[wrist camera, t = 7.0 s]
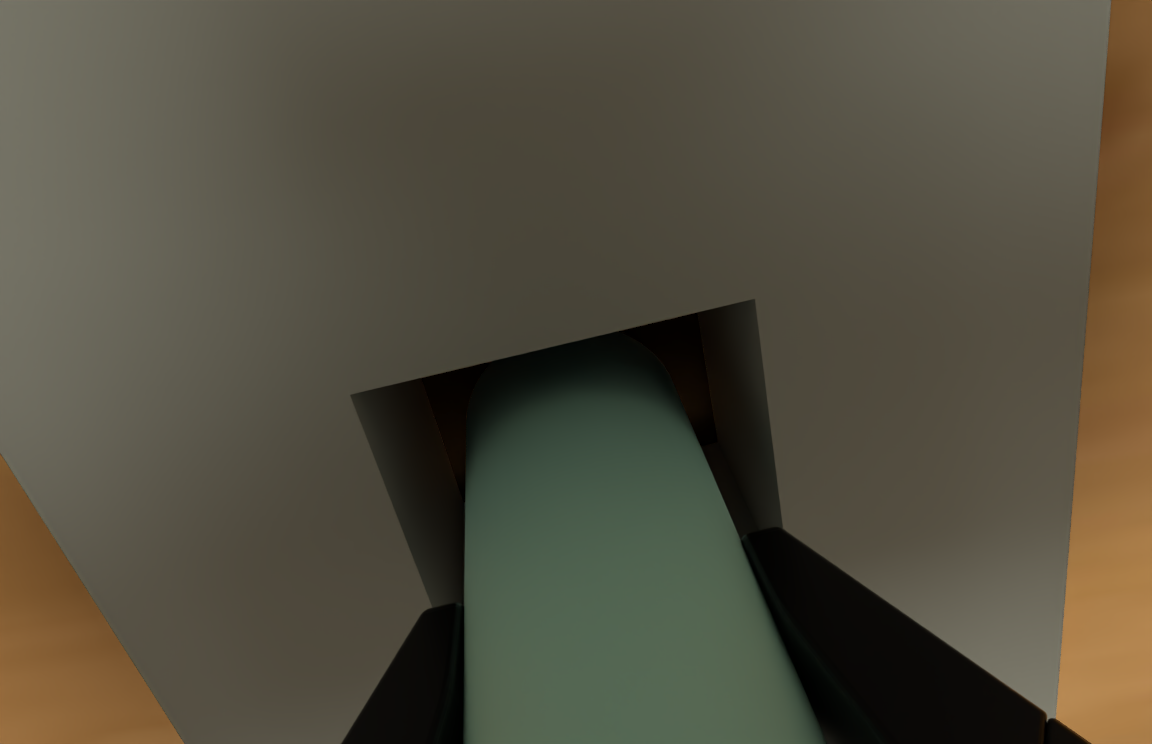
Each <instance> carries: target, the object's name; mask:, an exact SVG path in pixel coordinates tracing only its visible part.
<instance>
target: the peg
mask: <svg viewBox="0 0 1152 744" xmlns="http://www.w3.org/2000/svg"><path fill="white" fill-rule="evenodd" d="M463 744H827V741H826V739H825V737H824V734H823V732H822V730H821V727H820V725H819V723H818V720H817V718H816V716H815V713H814V711H813V709H812V706H811V704H810V702H809V699H808V697H807V695H806V692H805V690H804V688H803V685H802V683H801V681H800V678H799V676H798V673H797V671H796V669H795V667H794V664H793V662H792V660H791V657H790V655H789V653H788V650H787V648H786V646H785V643H784V641H783V639H782V636H781V634H780V632H779V629H778V627H777V625H776V622H775V620H774V617H773V615H772V613H771V610H770V608H769V606H768V603H767V601H766V599H765V596H764V594H763V592H762V589H761V587H760V585H759V582H758V580H757V578H756V575H755V573H754V571H753V568H752V566H751V564H750V561H749V559H748V557H747V554H746V552H745V550H744V547H743V545H742V543H741V540H740V538H739V535H738V533H737V531H736V528H735V526H734V524H733V521H732V519H731V517H730V514H729V512H728V510H727V507H726V505H725V503H724V500H723V498H722V496H721V493H720V491H719V489H718V486H717V484H716V481H715V479H714V477H713V474H712V472H711V470H710V467H709V465H708V463H707V460H706V458H705V456H704V453H703V451H702V449H701V446H700V444H699V442H698V439H697V437H696V435H695V432H694V430H693V428H692V425H691V423H690V421H689V418H688V416H687V414H686V411H685V409H684V407H683V404H682V402H681V400H680V397H679V395H678V393H677V390H676V388H675V386H674V383H673V381H672V379H671V376H670V374H669V373H668V371H667V369H666V368H665V366H664V365H663V363H662V362H661V361H660V360H659V359H658V358H657V356H656V355H655V354H654V353H652V352H651V351H650V350H649V349H648V348H647V347H646V346H644V345H643V344H641V343H640V342H638V341H636V340H635V339H633V338H631V337H629V336H627V335H625V334H623V333H620V332H612V333H608V334H604V335H600V336H595V337H591V338H587V339H583V340H579V341H574V342H570V343H566V344H562V345H558V346H553V347H549V348H545V349H541V350H536V351H532V352H528V353H524V354H520V355H515V356H511V357H507V358H503V359H499V360H494V361H492V362H491V363H490V364H489V365H488V367H487V368H486V369H485V371H484V372H483V373H482V374H481V376H480V378H479V379H478V381H477V383H476V385H475V387H474V389H473V392H472V394H471V397H470V400H469V404H468V408H467V417H466V475H465V575H464V676H463Z"/></svg>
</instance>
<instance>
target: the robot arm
mask: <svg viewBox="0 0 1152 744" xmlns="http://www.w3.org/2000/svg"><path fill="white" fill-rule="evenodd" d="M741 543H742V545H743V547H744V550H745V552H746V554H747V557H748V559H749V561H750V564H751V566H752V568H753V571H754V573H755V575H756V578H757V580H758V582H759V585H760V587H761V589H762V592H763V594H764V596H765V599H766V601H767V603H768V606H769V608H770V610H771V613H772V615H773V617H774V620H775V622H776V625H777V627H778V629H779V632H780V634H781V636H782V639H783V641H784V643H785V646H786V648H787V650H788V653H789V655H790V657H791V660H792V662H793V664H794V667H795V669H796V671H797V673H798V676H799V678H800V681H801V683H802V685H803V688H804V690H805V692H806V695H807V697H808V699H809V702H810V704H811V706H812V709H813V711H814V713H815V716H816V718H817V720H818V723H819V725H820V727H821V730H822V732H823V734H824V737H825V739H826V741H827V744H1091V743H1090V742H1088V741H1087V740H1085V739H1084V738H1083V737H1081V736H1080V735H1078V734H1077V733H1075V732H1074V731H1072V730H1071V729H1070V728H1068V727H1067V726H1065V725H1064V724H1062V723H1061V722H1060V721H1058V720H1057V719H1055V718H1050V719H1048V721H1047V714H1046V712H1045V711H1043V710H1042V709H1040V708H1039V707H1038V706H1036V705H1035V704H1033V703H1032V702H1030V701H1029V700H1028V699H1026V698H1025V697H1023V696H1022V695H1020V694H1019V693H1018V692H1016V691H1015V690H1013V689H1012V688H1010V687H1009V686H1008V685H1006V684H1005V683H1003V682H1002V681H1000V680H999V679H997V678H996V677H995V676H993V675H992V674H990V673H989V672H987V671H986V670H985V669H983V668H982V667H980V666H979V665H977V664H976V663H975V662H973V661H972V660H970V659H969V658H967V657H966V656H965V655H963V654H962V653H960V652H959V651H957V650H956V649H955V648H953V647H952V646H950V645H949V644H947V643H946V642H945V641H943V640H942V639H940V638H939V637H937V636H936V635H934V634H933V633H932V632H930V631H929V630H927V629H926V628H924V627H923V626H922V625H920V624H919V623H917V622H916V621H914V620H913V619H912V618H910V617H909V616H907V615H906V614H904V613H903V612H902V611H900V610H899V609H897V608H896V607H894V606H893V605H892V604H890V603H889V602H887V601H886V600H884V599H883V598H881V597H880V596H879V595H877V594H876V593H874V592H873V591H871V590H870V589H869V588H867V587H866V586H864V585H863V584H861V583H860V582H859V581H857V580H856V579H854V578H853V577H851V576H850V575H849V574H847V573H846V572H844V571H843V570H841V569H840V568H839V567H837V566H836V565H834V564H833V563H831V562H830V561H828V560H827V559H826V558H824V557H823V556H821V555H820V554H818V553H817V552H816V551H814V550H813V549H811V548H810V547H808V546H807V545H806V544H804V543H803V542H801V541H800V540H798V539H797V538H796V537H794V536H793V535H791V534H790V533H788V532H787V531H786V530H784V529H782V528H780V527H771V528H767V529H762V530H758V531H754V532H750V533H746V534H745V535H744V536H743V537H742V540H741ZM463 676H464V606H463V605H462V604H461V603H458V602H454V603H450V604H445V605H441V606H437V607H433V608H429V609H427V610H425V611H424V612H422V613H421V615H420V616H419V618H418V619H417V621H416V623H415V624H414V626H413V627H412V629H411V631H410V632H409V634H408V636H407V637H406V639H405V640H404V642H403V644H402V645H401V647H400V649H399V650H398V652H397V653H396V655H395V657H394V658H393V660H392V662H391V663H390V665H389V666H388V668H387V670H386V671H385V673H384V674H383V676H382V678H381V679H380V681H379V683H378V684H377V686H376V687H375V689H374V691H373V692H372V694H371V696H370V697H369V699H368V700H367V702H366V704H365V705H364V707H363V709H362V710H361V712H360V713H359V715H358V717H357V718H356V720H355V722H354V723H353V725H352V726H351V728H350V730H349V731H348V733H347V735H346V736H345V738H344V739H343V741H342V743H341V744H463Z"/></svg>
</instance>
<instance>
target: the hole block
mask: <svg viewBox="0 0 1152 744" xmlns="http://www.w3.org/2000/svg"><path fill="white" fill-rule="evenodd" d="M1110 10H1111V0H0V453H1V455H2V457H3V458H4V460H5V461H6V463H7V465H8V466H9V468H10V469H11V471H12V472H13V474H14V476H15V477H16V479H17V480H18V482H19V483H20V485H21V487H22V488H23V490H24V491H25V493H26V494H27V496H28V498H29V499H30V501H31V502H32V504H33V506H34V507H35V509H36V510H37V512H38V513H39V515H40V517H41V518H42V520H43V521H44V523H45V524H46V526H47V528H48V529H49V531H50V532H51V534H52V535H53V537H54V539H55V540H56V542H57V543H58V545H59V547H60V548H61V550H62V551H63V553H64V554H65V556H66V558H67V559H68V561H69V562H70V564H71V565H72V567H73V569H74V570H75V572H76V573H77V575H78V576H79V578H80V580H81V581H82V583H83V584H84V586H85V588H86V589H87V591H88V592H89V594H90V595H91V597H92V599H93V600H94V602H95V603H96V605H97V606H98V608H99V610H100V611H101V613H102V614H103V616H104V617H105V619H106V621H107V622H108V624H109V625H110V627H111V629H112V630H113V632H114V633H115V635H116V636H117V638H118V640H119V641H120V643H121V644H122V646H123V647H124V649H125V651H126V652H127V654H128V655H129V657H130V658H131V660H132V662H133V663H134V665H135V666H136V668H137V670H138V671H139V673H140V674H141V676H142V677H143V679H144V681H145V682H146V684H147V685H148V687H149V688H150V690H151V692H152V693H153V695H154V696H155V698H156V699H157V701H158V703H159V704H160V706H161V707H162V709H163V711H164V712H165V714H166V715H167V717H168V718H169V720H170V722H171V723H172V725H173V726H174V728H175V729H176V731H177V733H178V734H179V736H180V737H181V739H182V740H183V742H184V744H341V743H342V741H343V739H344V738H345V736H346V735H347V733H348V731H349V730H350V728H351V726H352V725H353V723H354V722H355V720H356V718H357V717H358V715H359V713H360V712H361V710H362V709H363V707H364V705H365V704H366V702H367V700H368V699H369V697H370V696H371V694H372V692H373V691H374V689H375V687H376V686H377V684H378V683H379V681H380V679H381V678H382V676H383V674H384V673H385V671H386V670H387V668H388V666H389V665H390V663H391V662H392V660H393V658H394V657H395V655H396V653H397V652H398V650H399V649H400V647H401V645H402V644H403V642H404V640H405V639H406V637H407V636H408V634H409V632H410V631H411V629H412V627H413V626H414V624H415V623H416V621H417V619H418V618H419V616H420V615H421V613H422V612H424V611H425V610H427V609H429V608H433V607H437V606H441V605H445V604H450V603H454V602H458V603H461V604H462V605H463V606H464V575H465V502H463V500H462V497H461V494H460V491H459V488H458V485H457V482H456V479H455V476H454V473H453V470H452V467H451V464H450V461H449V458H448V455H447V452H446V449H445V446H444V444H443V441H442V438H441V435H440V432H439V429H438V426H437V423H436V420H435V417H434V414H433V411H432V408H431V405H430V402H429V399H428V396H427V393H426V390H425V387H424V385H423V382H422V379H421V378H423V377H427V376H431V375H435V374H440V373H444V372H448V371H452V370H456V369H461V368H465V367H469V366H473V365H477V364H482V363H486V362H490V361H494V360H499V359H503V358H507V357H511V356H515V355H520V354H524V353H528V352H532V351H536V350H541V349H545V348H549V347H553V346H558V345H562V344H566V343H570V342H574V341H579V340H583V339H587V338H591V337H595V336H600V335H604V334H608V333H612V332H617V331H621V330H625V329H629V328H633V327H638V326H642V325H646V324H650V323H654V322H659V321H663V320H667V319H671V318H676V317H680V316H684V315H688V314H692V313H697V314H698V320H699V326H700V333H701V339H702V345H703V351H704V358H705V364H706V370H707V377H708V383H709V389H710V396H711V402H712V408H713V415H714V421H715V427H716V434H717V440H718V442H717V443H713V444H709V445H705V446H701V449H702V451H703V453H704V456H705V458H706V460H707V463H708V465H709V467H710V470H711V472H712V474H713V477H714V479H715V481H716V484H717V486H718V489H719V491H720V493H721V496H722V498H723V500H724V503H725V505H726V507H727V510H728V512H729V514H730V517H731V519H732V521H733V524H734V526H735V528H736V531H737V533H738V535H739V538H740V540H742V537H743V536H744V535H745V534H746V533H750V532H754V531H758V530H762V529H767V528H771V527H780V528H782V529H784V530H786V531H787V532H788V533H790V534H791V535H793V536H794V537H796V538H797V539H798V540H800V541H801V542H803V543H804V544H806V545H807V546H808V547H810V548H811V549H813V550H814V551H816V552H817V553H818V554H820V555H821V556H823V557H824V558H826V559H827V560H828V561H830V562H831V563H833V564H834V565H836V566H837V567H839V568H840V569H841V570H843V571H844V572H846V573H847V574H849V575H850V576H851V577H853V578H854V579H856V580H857V581H859V582H860V583H861V584H863V585H864V586H866V587H867V588H869V589H870V590H871V591H873V592H874V593H876V594H877V595H879V596H880V597H881V598H883V599H884V600H886V601H887V602H889V603H890V604H892V605H893V606H894V607H896V608H897V609H899V610H900V611H902V612H903V613H904V614H906V615H907V616H909V617H910V618H912V619H913V620H914V621H916V622H917V623H919V624H920V625H922V626H923V627H924V628H926V629H927V630H929V631H930V632H932V633H933V634H934V635H936V636H937V637H939V638H940V639H942V640H943V641H945V642H946V643H947V644H949V645H950V646H952V647H953V648H955V649H956V650H957V651H959V652H960V653H962V654H963V655H965V656H966V657H967V658H969V659H970V660H972V661H973V662H975V663H976V664H977V665H979V666H980V667H982V668H983V669H985V670H986V671H987V672H989V673H990V674H992V675H993V676H995V677H996V678H997V679H999V680H1000V681H1002V682H1003V683H1005V684H1006V685H1008V686H1009V687H1010V688H1012V689H1013V690H1015V691H1016V692H1018V693H1019V694H1020V695H1022V696H1023V697H1025V698H1026V699H1028V700H1029V701H1030V702H1032V703H1033V704H1035V705H1036V706H1038V707H1039V708H1040V709H1042V710H1043V711H1045V712H1046V714H1047V721H1048V719H1050V718H1055V719H1056V707H1057V695H1058V682H1059V669H1060V656H1061V643H1062V630H1063V617H1064V604H1065V591H1066V578H1067V565H1068V553H1069V540H1070V527H1071V514H1072V501H1073V488H1074V475H1075V462H1076V449H1077V436H1078V423H1079V410H1080V398H1081V385H1082V372H1083V359H1084V346H1085V333H1086V320H1087V307H1088V294H1089V281H1090V268H1091V256H1092V243H1093V230H1094V217H1095V204H1096V191H1097V178H1098V165H1099V152H1100V139H1101V126H1102V114H1103V101H1104V88H1105V75H1106V62H1107V49H1108V36H1109V23H1110Z"/></svg>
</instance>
